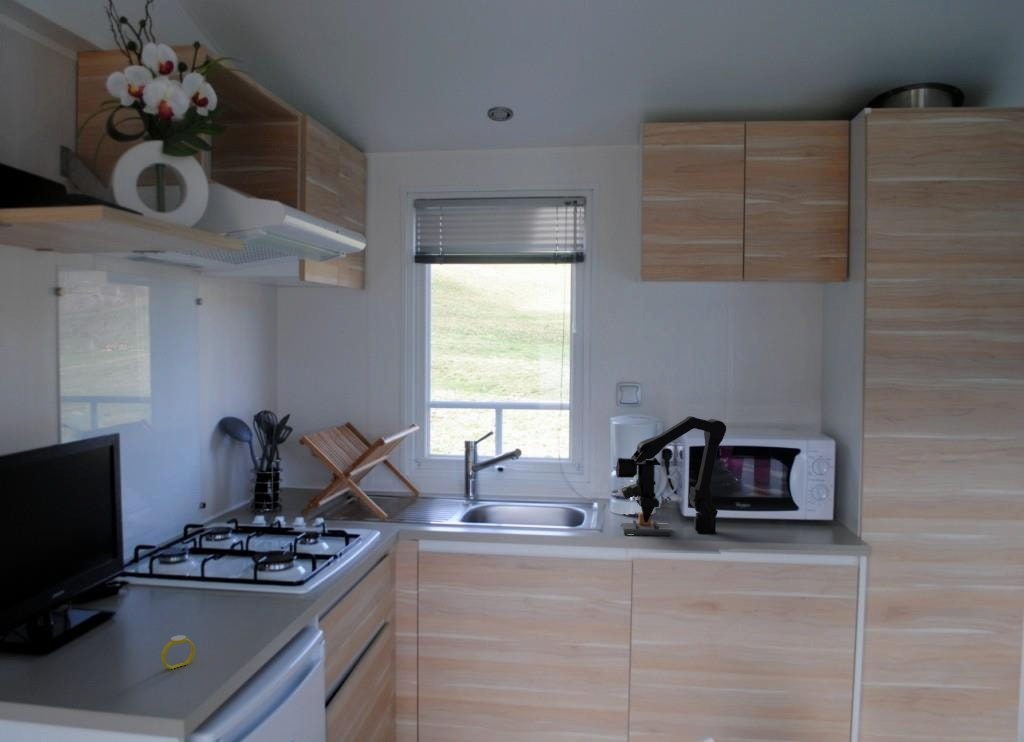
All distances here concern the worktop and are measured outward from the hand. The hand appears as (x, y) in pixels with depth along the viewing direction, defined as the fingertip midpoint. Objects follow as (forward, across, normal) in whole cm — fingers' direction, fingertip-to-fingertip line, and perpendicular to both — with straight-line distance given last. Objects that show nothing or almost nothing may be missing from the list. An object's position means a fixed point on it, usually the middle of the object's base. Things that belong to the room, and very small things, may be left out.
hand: (645, 522), depth 242 cm
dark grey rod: (+4, +5, 0) cm, 6 cm away
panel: (+4, 0, 0) cm, 4 cm away
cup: (+4, -27, -3) cm, 27 cm away
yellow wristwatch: (+4, +109, -108) cm, 154 cm away
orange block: (+1, -3, 0) cm, 3 cm away
